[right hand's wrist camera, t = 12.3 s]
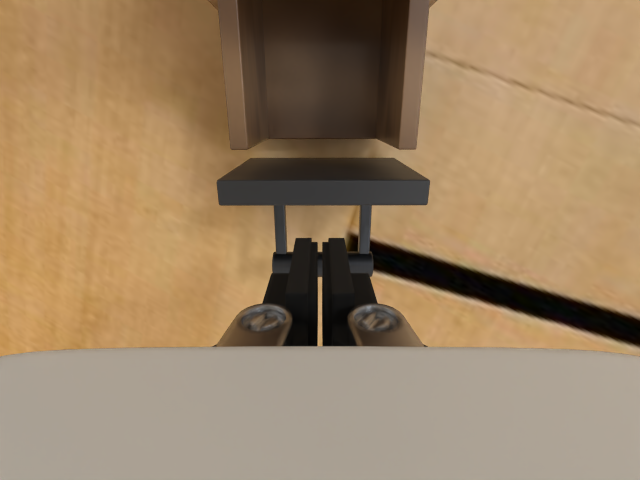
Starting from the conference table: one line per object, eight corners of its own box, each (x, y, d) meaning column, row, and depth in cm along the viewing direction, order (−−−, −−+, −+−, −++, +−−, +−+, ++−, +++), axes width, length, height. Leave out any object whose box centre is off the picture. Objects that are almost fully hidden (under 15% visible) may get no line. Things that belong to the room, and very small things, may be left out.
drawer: (388, 245, 26) (417, 302, 18) (255, 245, 26) (228, 302, 18) (410, -71, 19) (471, -193, 11) (233, -71, 19) (176, -192, 11)
